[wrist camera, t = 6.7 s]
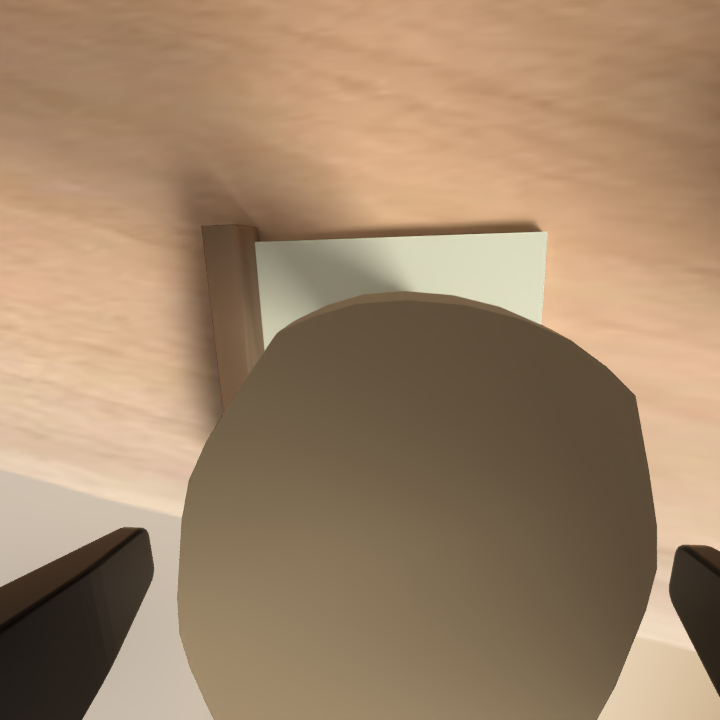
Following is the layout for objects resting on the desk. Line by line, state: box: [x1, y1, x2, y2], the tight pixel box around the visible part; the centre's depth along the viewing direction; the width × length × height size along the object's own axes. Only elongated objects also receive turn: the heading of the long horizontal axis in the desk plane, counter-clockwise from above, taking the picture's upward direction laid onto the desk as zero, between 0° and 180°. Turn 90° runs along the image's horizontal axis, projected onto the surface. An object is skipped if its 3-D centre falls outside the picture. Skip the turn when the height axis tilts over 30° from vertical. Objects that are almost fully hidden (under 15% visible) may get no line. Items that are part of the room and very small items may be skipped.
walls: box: [202, 225, 265, 413], centre depth 19 cm, size 13×11×3 cm
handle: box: [177, 291, 657, 720], centre depth 12 cm, size 5×6×15 cm
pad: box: [255, 232, 548, 350], centre depth 20 cm, size 12×9×1 cm
